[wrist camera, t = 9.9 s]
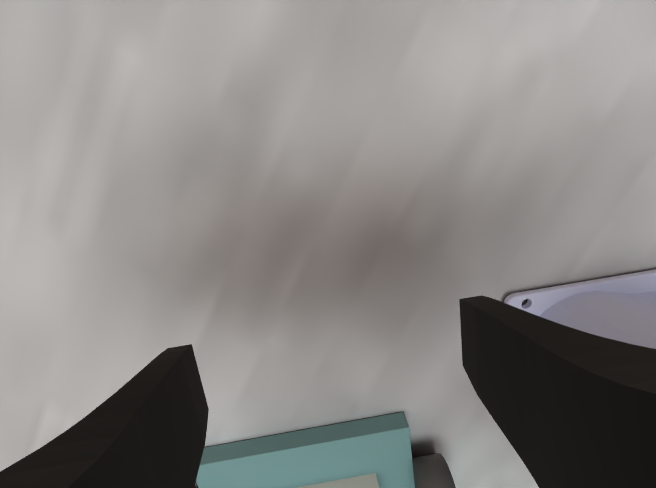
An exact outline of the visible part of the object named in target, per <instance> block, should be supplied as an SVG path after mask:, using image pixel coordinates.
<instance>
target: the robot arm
mask: <svg viewBox="0 0 656 488" xmlns="http://www.w3.org/2000/svg"><path fill="white" fill-rule="evenodd" d="M525 299H528V301H527V303H526V304H524V305H521V304H522V302H523V301H524V300H525ZM460 318H461V339H462V360H463V366H464V369H465V371H466V373H467V375H468V377H469V379H470V381H471V383H472V385H473V387H474V389H475V391H476V393H477V395H478V396H479V398H480V399H481V401H482V403H483V404H484V405H485V407H486V408H487V410H488V411H489V413H490V414H491V416H492V417H493V419H494V420H495V422H496V423H497V425H498V426H499V427H500V429H501V430H502V432H503V433H504V435H505V436H506V438H507V439H508V440H509V442H510V443H511V445H512V446H513V448H514V449H515V451H516V452H517V453H518V455H519V456H520V458H521V459H522V461H523V462H524V464H525V465H526V467H527V468H528V470H529V472H530V473H531V475H532V476H533V478H534V479H535V481H536V483H537V485H538V487H539V488H656V269H655V270H649V271H643V272H637V273H631V274H625V275H619V276H613V277H607V278H601V279H596V280H590V281H584V282H578V283H572V284H566V285H560V286H554V287H548V288H542V289H536V290H530V291H524V292H518V293H513V294H510V295H509V296H507V297H506V299H505V300H504V303H503V302H501V301H498V300H495V299H492V298H489V297H485V296H476V297H470V298H464V299H460ZM208 410H209V409H208V406H207V402H206V398H205V394H204V390H203V386H202V383H201V379H200V375H199V371H198V367H197V363H196V360H195V356H194V352H193V348H192V344H191V345H185V346H179V347H173V348H168V349H166V350H165V351H164V352H162V353H161V354H160V355H159V356H157V357H156V358H155V359H154V360H153V361H151V362H150V363H149V364H148V365H147V366H146V367H145V368H143V369H142V370H141V371H140V372H139V373H138V374H137V375H135V376H134V377H133V378H132V379H131V380H130V381H129V382H127V383H126V384H125V385H124V386H123V387H122V388H121V389H119V390H118V391H117V392H116V393H115V394H113V395H112V396H111V397H110V398H108V399H107V400H106V401H105V402H103V403H102V404H101V405H100V406H98V407H97V408H96V409H95V410H93V411H92V412H91V413H90V414H88V415H87V416H86V417H85V418H83V419H82V420H81V421H79V422H78V423H76V424H75V425H74V426H72V427H71V428H70V429H68V430H67V431H65V432H64V433H62V434H61V435H59V436H58V437H56V438H55V439H53V440H52V441H50V442H49V443H47V444H46V445H44V446H43V447H41V448H40V449H38V450H36V451H35V452H33V453H31V454H30V455H28V456H26V457H25V458H23V459H21V460H19V461H18V462H16V463H14V464H13V465H11V466H9V467H8V468H6V469H4V470H3V471H1V472H0V488H194V486H195V482H196V478H197V475H198V471H199V466H200V462H201V458H202V454H203V450H204V446H205V439H206V430H207V420H208Z"/></svg>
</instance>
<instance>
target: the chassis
mask: <svg viewBox="0 0 656 488" xmlns="http://www.w3.org/2000/svg"><path fill="white" fill-rule="evenodd" d="M196 481H197V485H198V488H455V484H454V481H453V478H452V475H451V473H450V470H449V468H448V465H447V463H446V461H445V459H444V457H443V456H442V455H441V454H440V453H437V454H432V455H426V456H421V457H415V458H412V452H411V442H410V432H409V426H408V423H407V421H406V418H405V415H404V413H403V412H399V413H394V414H388V415H383V416H377V417H372V418H366V419H360V420H355V421H349V422H344V423H338V424H333V425H327V426H322V427H316V428H310V429H305V430H299V431H294V432H288V433H283V434H277V435H271V436H266V437H260V438H255V439H249V440H244V441H238V442H233V443H227V444H221V445H216V446H210V447H205V448H204V450H203V454H202V458H201V462H200V466H199V471H198V475H197V478H196Z"/></svg>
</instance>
